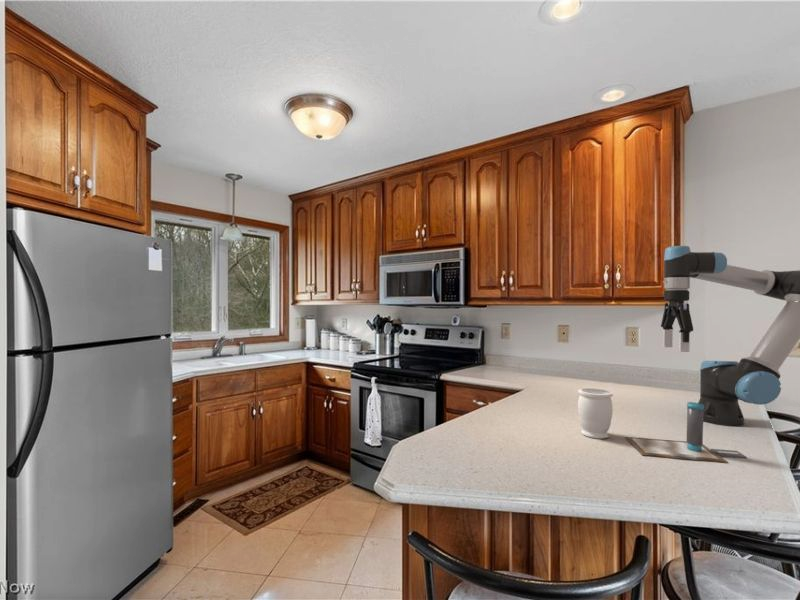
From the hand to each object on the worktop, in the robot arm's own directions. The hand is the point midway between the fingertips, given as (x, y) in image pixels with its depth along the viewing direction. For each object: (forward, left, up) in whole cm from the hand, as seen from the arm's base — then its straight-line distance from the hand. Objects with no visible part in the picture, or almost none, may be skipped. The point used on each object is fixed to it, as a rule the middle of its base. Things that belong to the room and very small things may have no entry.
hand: (675, 349), depth 147 cm
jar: (+29, +13, -29) cm, 43 cm away
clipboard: (+9, +22, -29) cm, 37 cm away
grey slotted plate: (-6, +22, -29) cm, 37 cm away
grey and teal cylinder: (+3, +22, -28) cm, 36 cm away
